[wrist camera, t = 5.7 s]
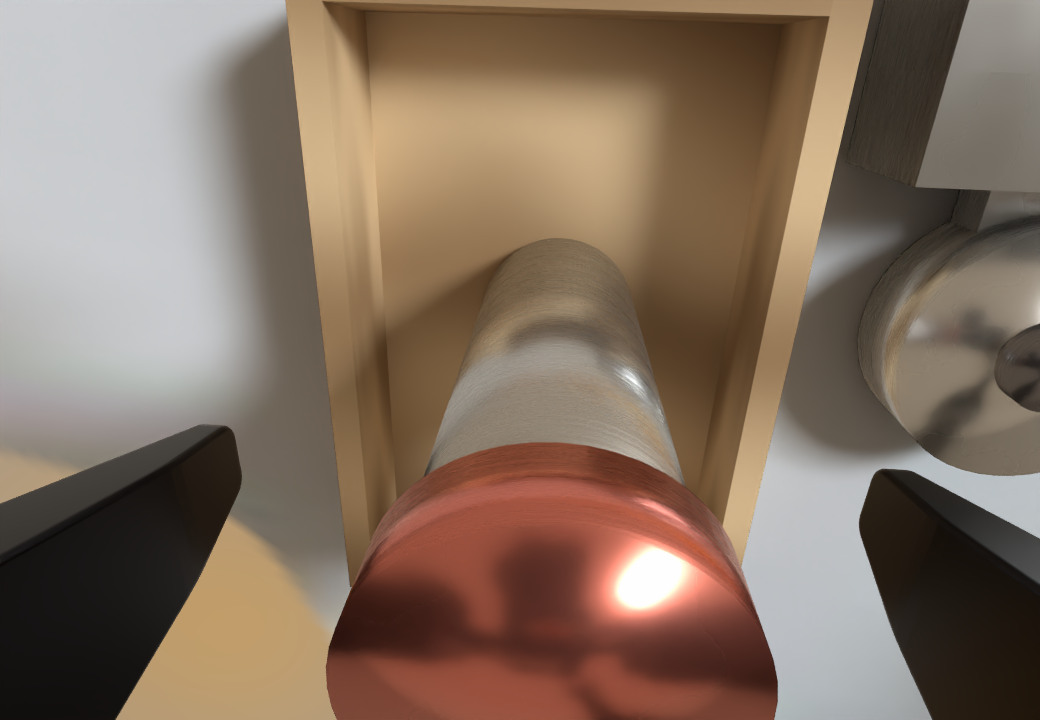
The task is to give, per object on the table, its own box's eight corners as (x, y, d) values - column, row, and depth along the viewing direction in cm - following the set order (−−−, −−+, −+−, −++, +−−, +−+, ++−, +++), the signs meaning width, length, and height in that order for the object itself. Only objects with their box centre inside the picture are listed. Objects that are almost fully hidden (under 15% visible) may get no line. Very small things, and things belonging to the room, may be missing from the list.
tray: (705, 532, 18) (729, 616, 15) (382, 509, 18) (350, 586, 16) (812, -9, 12) (880, -28, 10) (341, -22, 13) (280, -44, 10)
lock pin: (634, 391, 16) (734, 852, 6) (471, 382, 16) (346, 818, 7) (654, 228, 14) (826, 544, 5) (471, 220, 14) (300, 510, 5)
